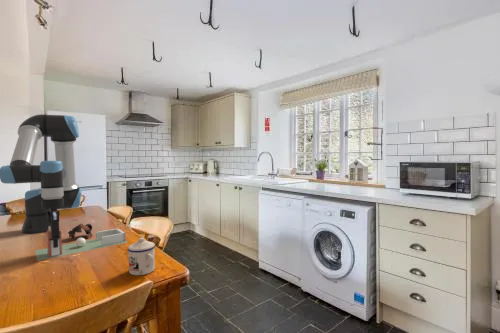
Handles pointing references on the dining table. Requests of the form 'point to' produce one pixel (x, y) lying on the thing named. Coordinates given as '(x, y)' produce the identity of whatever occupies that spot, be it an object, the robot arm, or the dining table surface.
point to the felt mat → (73, 249)
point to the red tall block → (50, 242)
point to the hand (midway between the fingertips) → (54, 252)
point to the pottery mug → (77, 229)
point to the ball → (80, 242)
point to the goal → (110, 236)
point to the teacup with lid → (141, 257)
